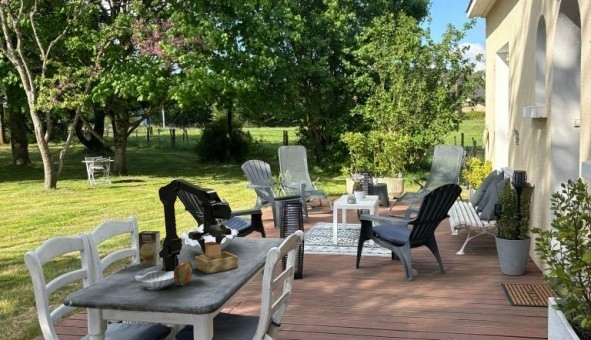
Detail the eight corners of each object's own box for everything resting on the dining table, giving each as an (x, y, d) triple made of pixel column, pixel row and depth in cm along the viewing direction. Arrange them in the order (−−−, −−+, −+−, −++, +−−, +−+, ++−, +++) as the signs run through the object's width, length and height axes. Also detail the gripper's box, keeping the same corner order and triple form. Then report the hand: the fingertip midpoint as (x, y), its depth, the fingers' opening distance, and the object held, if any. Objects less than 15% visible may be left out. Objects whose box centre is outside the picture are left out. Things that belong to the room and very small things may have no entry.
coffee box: (139, 265, 270) (137, 233, 268) (143, 262, 276) (142, 230, 275) (157, 265, 269) (155, 233, 267) (161, 262, 275) (160, 230, 274)
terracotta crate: (208, 257, 242) (208, 246, 241) (201, 254, 248) (200, 243, 248) (221, 255, 245) (220, 244, 245) (213, 252, 252) (212, 241, 251)
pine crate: (207, 273, 252) (206, 261, 251) (195, 268, 262) (194, 256, 262) (238, 267, 261) (237, 256, 260) (225, 262, 271) (225, 251, 271)
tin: (180, 288, 231) (179, 268, 230) (173, 287, 232) (172, 268, 231) (193, 277, 246) (192, 259, 245) (187, 277, 247) (186, 259, 246)
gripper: (197, 223, 233) (198, 259, 235) (236, 217, 244) (237, 252, 245) (187, 219, 243) (188, 254, 244) (225, 214, 253) (226, 248, 254)
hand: (210, 252), depth 247 cm, fingers closed on terracotta crate, 6 cm apart
